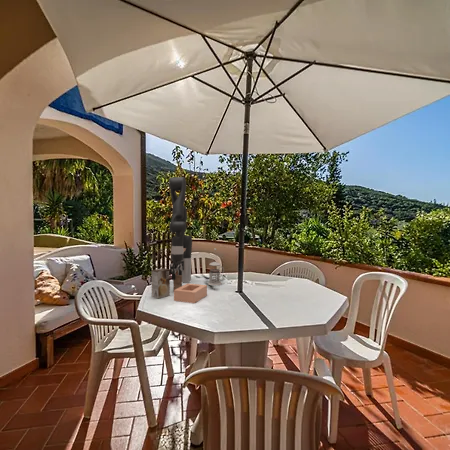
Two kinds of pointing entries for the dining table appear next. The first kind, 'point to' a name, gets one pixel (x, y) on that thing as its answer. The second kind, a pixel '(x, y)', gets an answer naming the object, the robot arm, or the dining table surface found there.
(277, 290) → the dining table surface
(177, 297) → the orange rectangular frame
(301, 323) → the dining table surface
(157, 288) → the coffee box
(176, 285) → the walnut post
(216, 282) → the french press
